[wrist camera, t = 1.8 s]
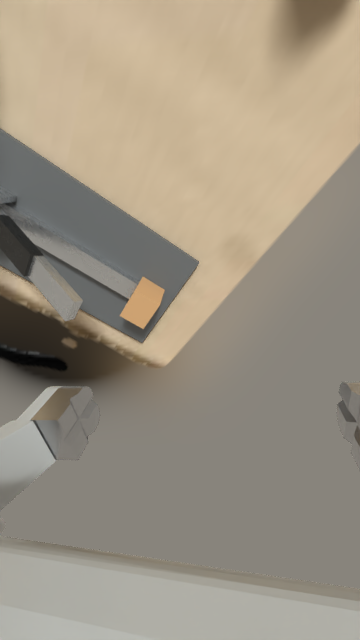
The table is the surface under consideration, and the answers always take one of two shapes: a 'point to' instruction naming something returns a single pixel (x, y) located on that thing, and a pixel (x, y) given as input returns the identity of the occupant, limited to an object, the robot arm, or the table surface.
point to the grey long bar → (67, 248)
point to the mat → (91, 235)
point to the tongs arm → (37, 268)
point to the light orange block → (143, 303)
